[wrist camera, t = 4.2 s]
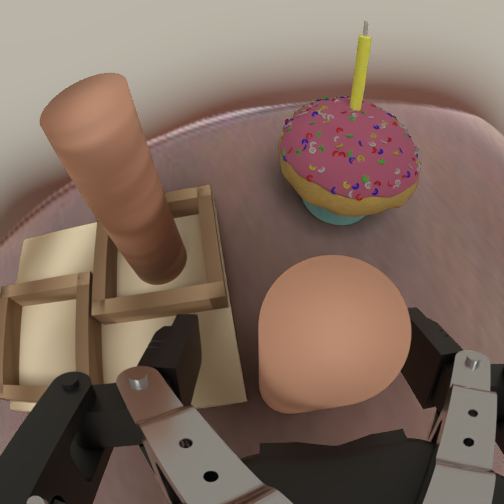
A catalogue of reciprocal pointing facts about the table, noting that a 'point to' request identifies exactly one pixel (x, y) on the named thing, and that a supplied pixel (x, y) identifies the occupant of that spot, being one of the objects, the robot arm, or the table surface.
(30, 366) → the board
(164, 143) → the table surface
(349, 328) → the peg
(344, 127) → the cupcake
